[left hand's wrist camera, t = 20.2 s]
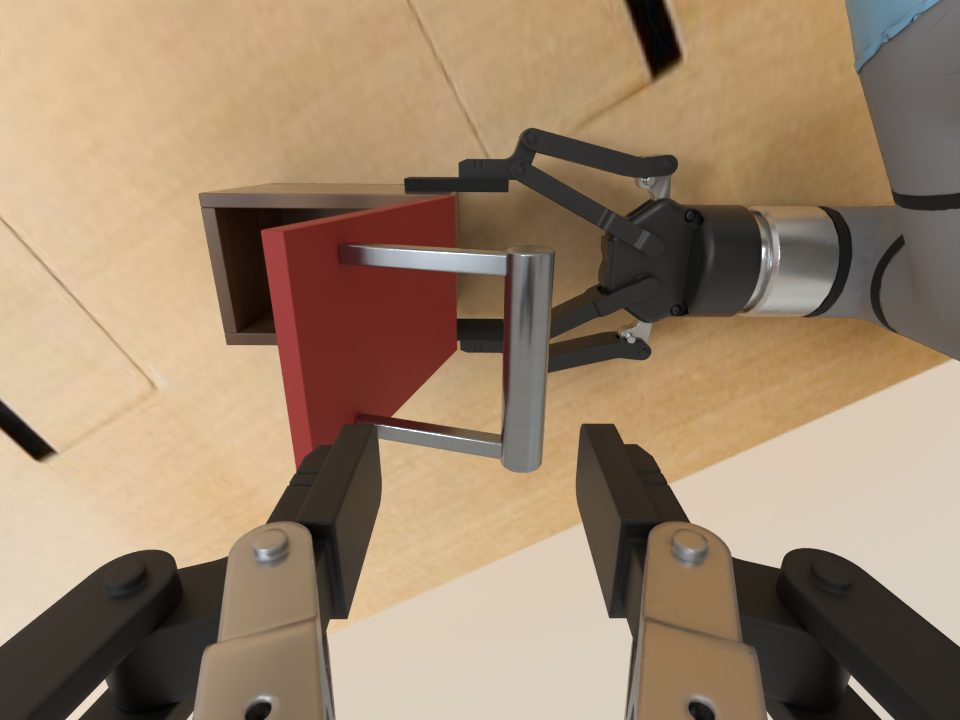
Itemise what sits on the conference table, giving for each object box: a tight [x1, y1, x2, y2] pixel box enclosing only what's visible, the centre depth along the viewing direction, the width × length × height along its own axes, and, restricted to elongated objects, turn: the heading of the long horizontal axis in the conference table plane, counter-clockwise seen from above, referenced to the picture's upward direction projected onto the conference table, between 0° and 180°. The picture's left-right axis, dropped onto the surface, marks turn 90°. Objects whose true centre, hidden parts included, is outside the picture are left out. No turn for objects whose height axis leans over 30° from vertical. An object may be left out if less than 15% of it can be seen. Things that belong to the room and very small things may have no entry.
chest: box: [199, 183, 458, 345], centre depth 36 cm, size 14×9×11 cm, turn 90°
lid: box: [261, 195, 555, 473], centre depth 23 cm, size 15×9×8 cm
